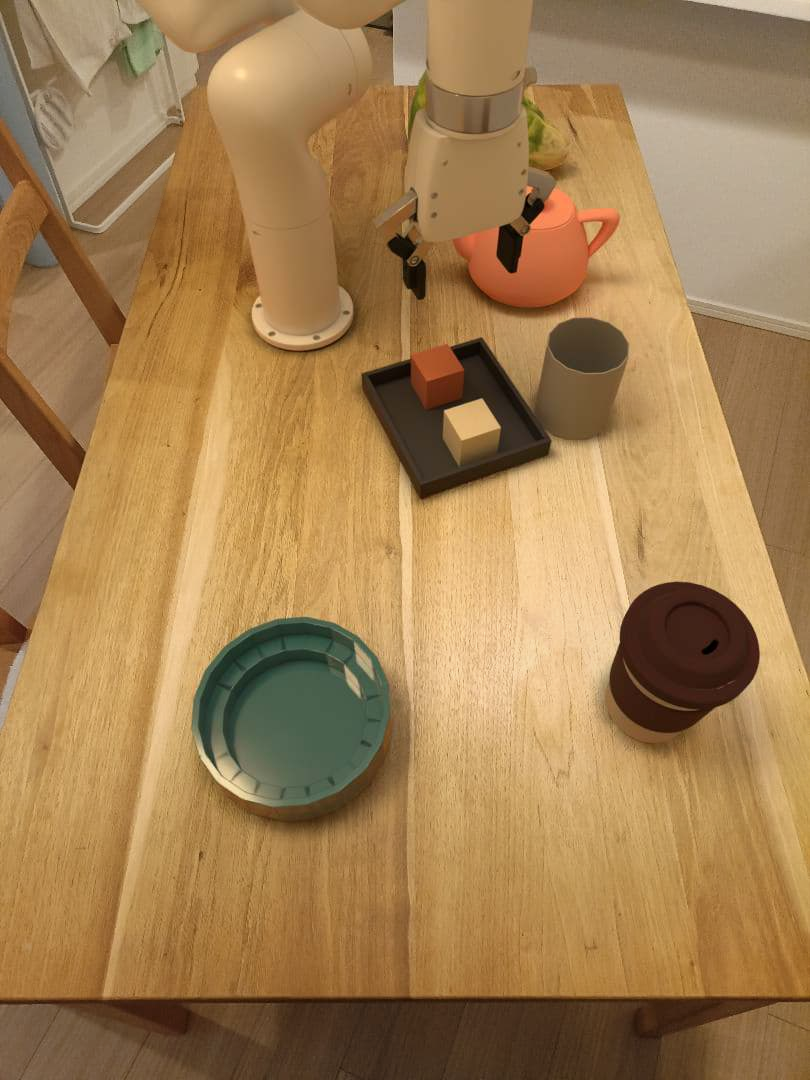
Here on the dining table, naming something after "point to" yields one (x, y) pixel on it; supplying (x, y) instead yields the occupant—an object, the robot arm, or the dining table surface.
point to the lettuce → (542, 134)
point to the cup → (580, 377)
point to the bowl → (293, 718)
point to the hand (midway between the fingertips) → (461, 277)
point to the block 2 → (471, 432)
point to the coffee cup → (678, 660)
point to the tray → (422, 429)
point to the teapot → (539, 254)
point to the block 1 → (437, 376)
